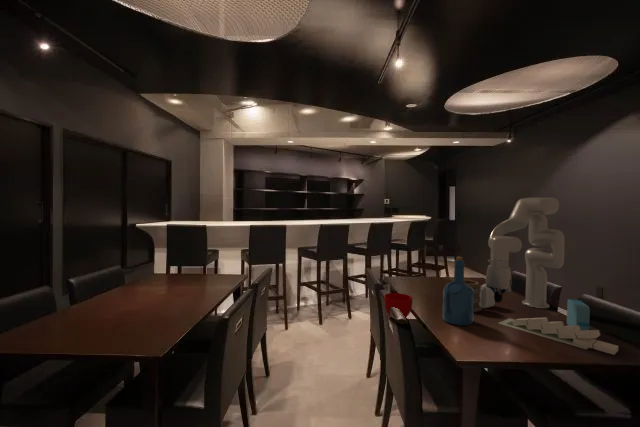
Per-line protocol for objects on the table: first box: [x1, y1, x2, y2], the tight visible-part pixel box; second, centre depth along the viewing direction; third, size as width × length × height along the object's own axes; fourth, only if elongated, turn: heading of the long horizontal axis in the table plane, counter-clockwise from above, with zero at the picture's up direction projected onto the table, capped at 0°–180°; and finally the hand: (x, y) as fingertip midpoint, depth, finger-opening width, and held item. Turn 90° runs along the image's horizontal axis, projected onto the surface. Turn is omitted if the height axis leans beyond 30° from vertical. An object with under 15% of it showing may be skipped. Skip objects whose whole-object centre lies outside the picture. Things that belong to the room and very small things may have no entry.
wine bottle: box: [441, 256, 475, 327], centre depth 146 cm, size 14×13×30 cm
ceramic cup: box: [383, 292, 414, 318], centre depth 152 cm, size 13×17×10 cm
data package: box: [566, 298, 591, 330], centre depth 140 cm, size 12×4×12 cm, turn 158°
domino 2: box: [526, 320, 565, 330], centre depth 135 cm, size 6×2×12 cm
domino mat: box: [497, 318, 590, 350], centre depth 135 cm, size 12×32×1 cm, turn 36°
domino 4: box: [558, 329, 601, 339], centre depth 126 cm, size 6×2×12 cm
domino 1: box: [512, 317, 549, 326], centre depth 139 cm, size 6×2×12 cm
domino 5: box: [573, 338, 619, 356], centre depth 121 cm, size 6×2×12 cm
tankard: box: [443, 275, 483, 313], centre depth 170 cm, size 20×13×15 cm, turn 35°
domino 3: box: [541, 325, 580, 334], centre depth 131 cm, size 6×2×12 cm
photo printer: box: [479, 283, 496, 309], centre depth 171 cm, size 10×4×12 cm, turn 123°
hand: (497, 301), depth 150 cm, fingers closed
